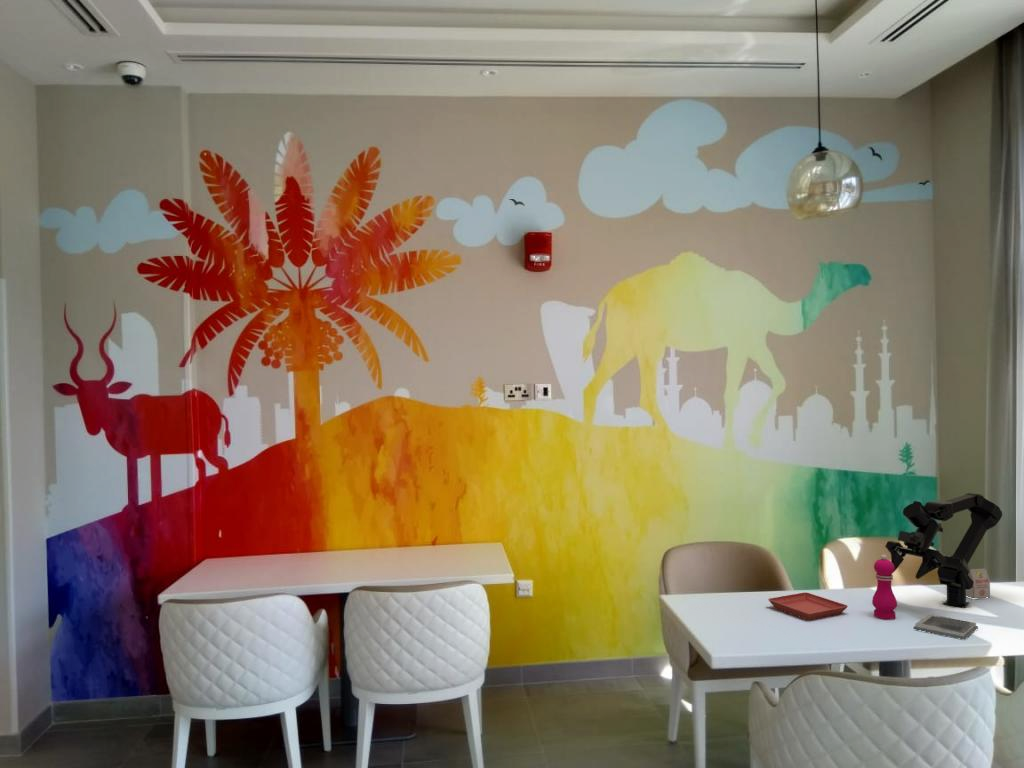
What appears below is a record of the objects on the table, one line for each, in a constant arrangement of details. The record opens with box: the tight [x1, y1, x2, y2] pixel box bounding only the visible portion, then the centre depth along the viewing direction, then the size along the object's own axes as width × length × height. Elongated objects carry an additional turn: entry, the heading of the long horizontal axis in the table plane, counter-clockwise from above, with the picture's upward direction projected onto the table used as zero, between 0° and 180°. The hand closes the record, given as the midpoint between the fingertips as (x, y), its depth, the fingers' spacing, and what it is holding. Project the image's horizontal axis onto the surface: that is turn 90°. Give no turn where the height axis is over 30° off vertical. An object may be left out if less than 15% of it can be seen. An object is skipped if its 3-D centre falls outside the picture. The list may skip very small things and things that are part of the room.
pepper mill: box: [871, 554, 898, 620], centre depth 250 cm, size 7×7×20 cm
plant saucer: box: [767, 591, 849, 620], centre depth 257 cm, size 18×18×3 cm
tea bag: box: [966, 567, 991, 598], centre depth 270 cm, size 4×7×10 cm, turn 101°
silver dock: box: [912, 614, 979, 640], centre depth 236 cm, size 14×14×2 cm
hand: (903, 575), depth 252 cm, fingers open, 9 cm apart
